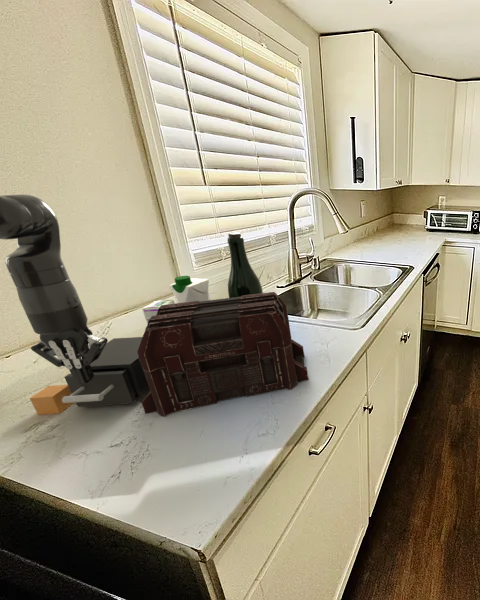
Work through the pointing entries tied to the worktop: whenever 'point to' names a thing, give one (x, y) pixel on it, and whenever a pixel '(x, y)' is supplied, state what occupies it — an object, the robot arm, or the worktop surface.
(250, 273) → the beer bottle
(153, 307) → the syrup box
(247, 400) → the worktop surface
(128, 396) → the drawer
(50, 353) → the robot arm
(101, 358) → the dark grey box shell
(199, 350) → the crate
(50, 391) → the orange block
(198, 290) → the milk carton
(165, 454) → the worktop surface
